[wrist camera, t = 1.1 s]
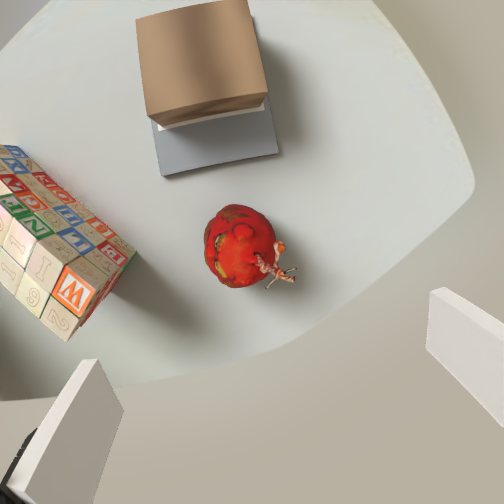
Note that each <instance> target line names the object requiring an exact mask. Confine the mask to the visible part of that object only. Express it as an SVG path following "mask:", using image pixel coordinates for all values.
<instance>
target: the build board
mask: <svg viewBox="0 0 504 504" xmlns="http://www.w3.org/2000/svg"><path fill="white" fill-rule="evenodd" d="M151 123H152V129H153V135H154V141H155V147H156V152H157V158H158V163H159V168H160V173H161V176H166V175H170V174H174V173H178V172H183V171H187V170H192V169H196V168H201V167H206V166H210V165H215V164H220V163H225V162H231V161H236V160H241V159H247V158H252V157H258V156H264V155H270V154H276V153H279V151H278V145H277V140H276V135H275V130H274V124H273V119H272V114H271V109H270V104H269V99H268V95H266V97H265V99H264V100H263V102H262V104H261V106H260V107H257V108H250V109H244V110H238V111H232V112H226V113H221V114H216V115H211V116H206V117H201V118H196V119H192V120H187V121H183V122H178V123H174V124H170V125H166V126H160V125H159V124H158V123H156V122H155V121H154V120H152V119H151Z"/></svg>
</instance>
